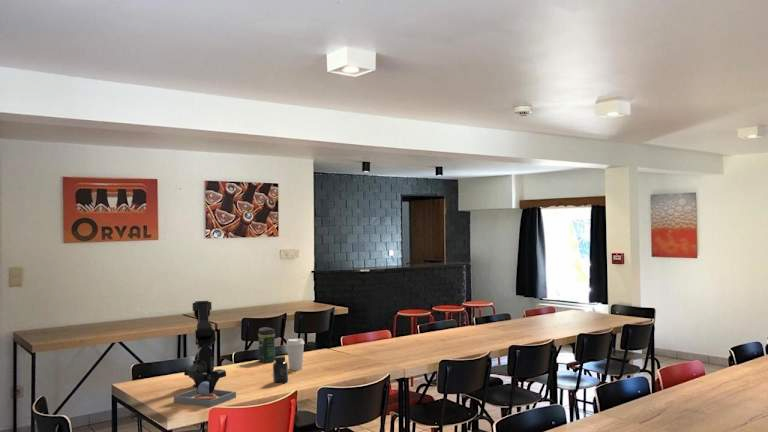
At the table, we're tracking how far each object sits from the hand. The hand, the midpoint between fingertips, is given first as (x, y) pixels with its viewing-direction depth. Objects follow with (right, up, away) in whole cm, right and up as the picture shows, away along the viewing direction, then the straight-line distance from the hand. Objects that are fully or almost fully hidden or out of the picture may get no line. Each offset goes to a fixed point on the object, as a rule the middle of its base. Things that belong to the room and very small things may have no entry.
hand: (205, 392), depth 275 cm
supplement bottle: (+27, -3, +30) cm, 41 cm away
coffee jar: (+12, -5, +79) cm, 80 cm away
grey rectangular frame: (0, -3, 0) cm, 3 cm away
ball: (0, +2, 0) cm, 2 cm away
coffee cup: (+31, -4, +58) cm, 66 cm away
